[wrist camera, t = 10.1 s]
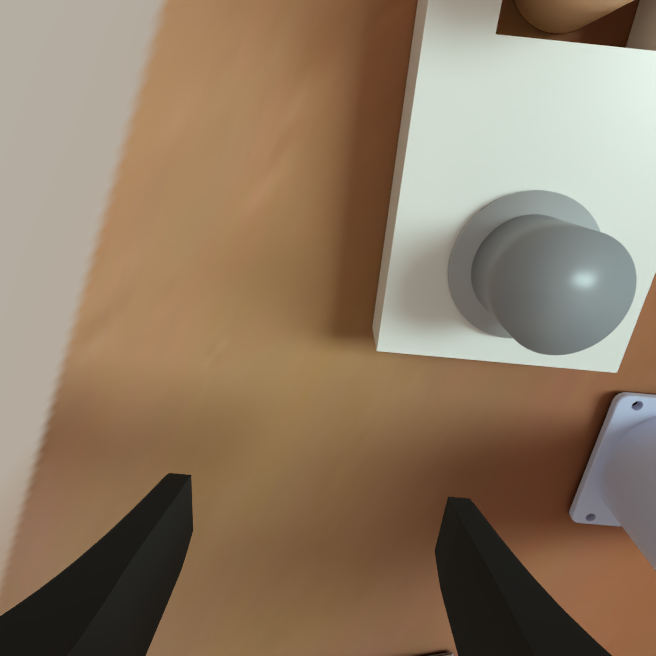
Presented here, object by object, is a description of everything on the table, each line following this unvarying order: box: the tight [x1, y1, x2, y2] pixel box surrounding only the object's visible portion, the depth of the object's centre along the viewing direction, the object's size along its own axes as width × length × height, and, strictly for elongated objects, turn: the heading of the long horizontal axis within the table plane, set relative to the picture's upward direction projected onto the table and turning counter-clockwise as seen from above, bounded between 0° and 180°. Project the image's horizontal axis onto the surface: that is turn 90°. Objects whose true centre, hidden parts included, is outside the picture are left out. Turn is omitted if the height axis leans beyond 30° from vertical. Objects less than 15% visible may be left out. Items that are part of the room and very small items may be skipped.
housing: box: [372, 0, 656, 373], centre depth 14 cm, size 10×18×6 cm, turn 175°
